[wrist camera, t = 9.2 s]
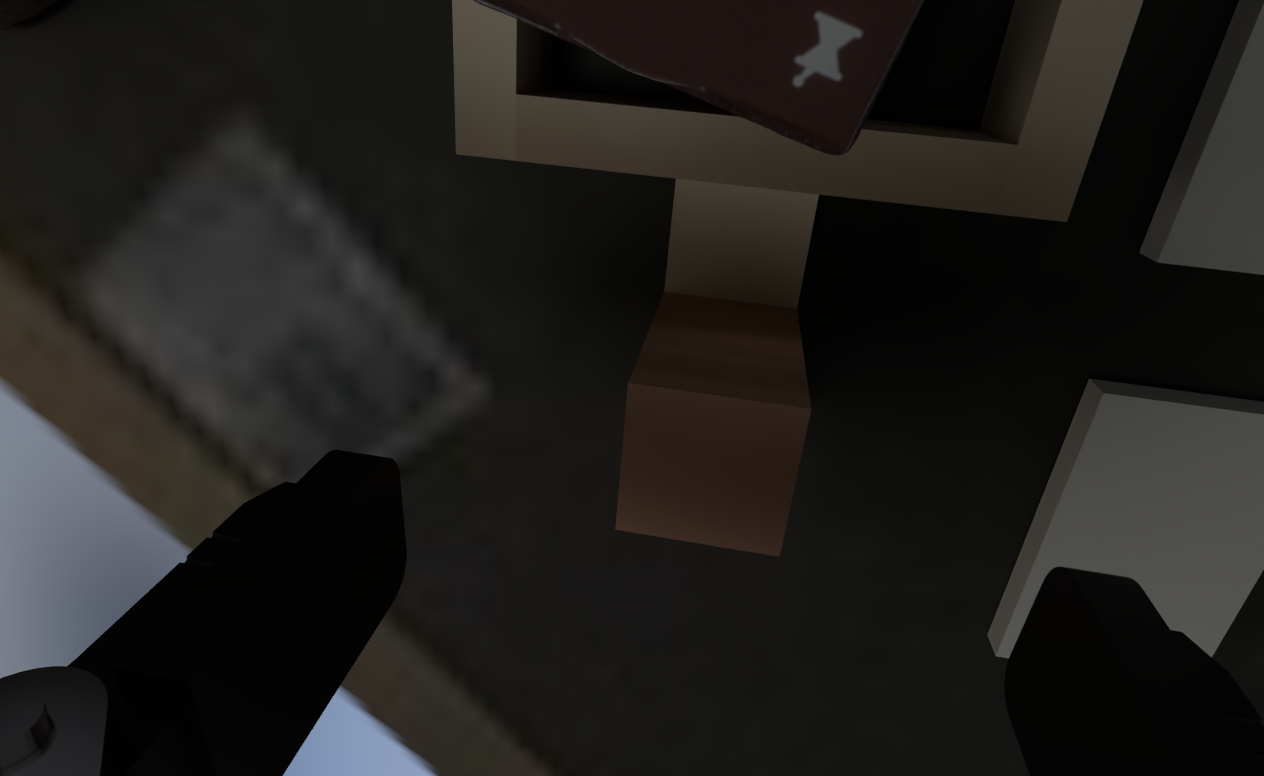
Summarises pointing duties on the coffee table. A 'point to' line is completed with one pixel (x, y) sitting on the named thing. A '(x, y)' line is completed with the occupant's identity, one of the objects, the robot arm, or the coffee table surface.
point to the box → (747, 53)
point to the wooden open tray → (772, 235)
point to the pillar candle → (20, 10)
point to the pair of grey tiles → (1172, 403)
